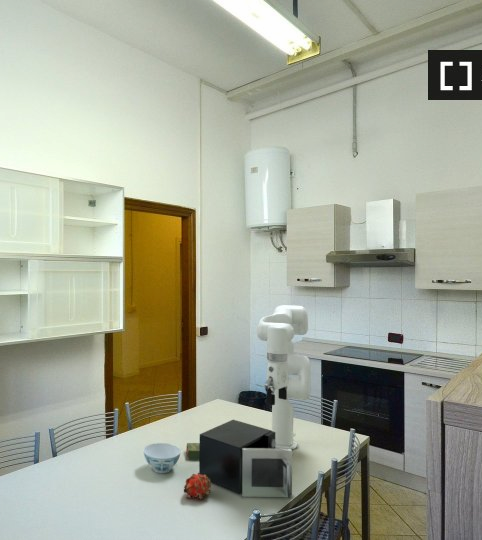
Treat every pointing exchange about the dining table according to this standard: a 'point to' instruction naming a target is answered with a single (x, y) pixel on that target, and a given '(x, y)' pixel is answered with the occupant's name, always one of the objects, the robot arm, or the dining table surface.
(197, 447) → the carton
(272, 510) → the dining table surface
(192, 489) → the dragon fruit
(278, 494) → the microwave door
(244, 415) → the dining table surface
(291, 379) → the robot arm
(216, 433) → the microwave
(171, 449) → the chinaware
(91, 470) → the dining table surface
